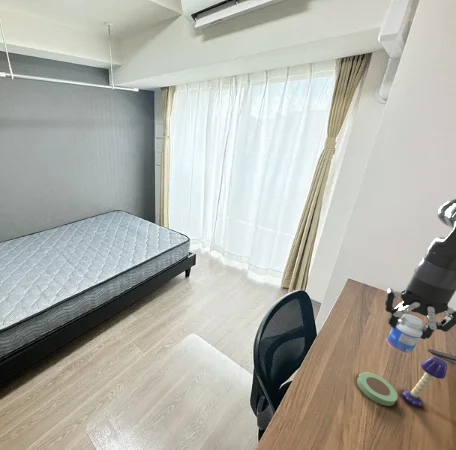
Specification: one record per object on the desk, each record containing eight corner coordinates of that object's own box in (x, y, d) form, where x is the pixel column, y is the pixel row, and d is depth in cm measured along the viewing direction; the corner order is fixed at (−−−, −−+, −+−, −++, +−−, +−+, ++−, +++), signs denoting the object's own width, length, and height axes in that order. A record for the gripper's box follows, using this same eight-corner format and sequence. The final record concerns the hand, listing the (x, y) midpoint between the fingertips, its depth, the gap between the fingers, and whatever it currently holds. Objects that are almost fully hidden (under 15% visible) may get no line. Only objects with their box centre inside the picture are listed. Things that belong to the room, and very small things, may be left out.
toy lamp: (427, 406, 70) (456, 365, 64) (416, 411, 69) (445, 370, 63) (407, 390, 74) (432, 350, 68) (397, 394, 73) (421, 354, 67)
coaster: (393, 388, 75) (396, 383, 74) (396, 412, 68) (399, 408, 68) (357, 371, 80) (359, 366, 79) (356, 392, 73) (359, 387, 73)
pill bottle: (384, 335, 72) (397, 308, 68) (409, 344, 69) (424, 317, 65) (387, 347, 68) (401, 320, 64) (413, 357, 65) (430, 329, 61)
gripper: (397, 274, 61) (373, 326, 68) (486, 298, 53) (448, 355, 59) (394, 263, 67) (372, 312, 73) (474, 283, 59) (441, 336, 65)
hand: (406, 331), depth 66 cm, fingers closed on pill bottle, 5 cm apart
